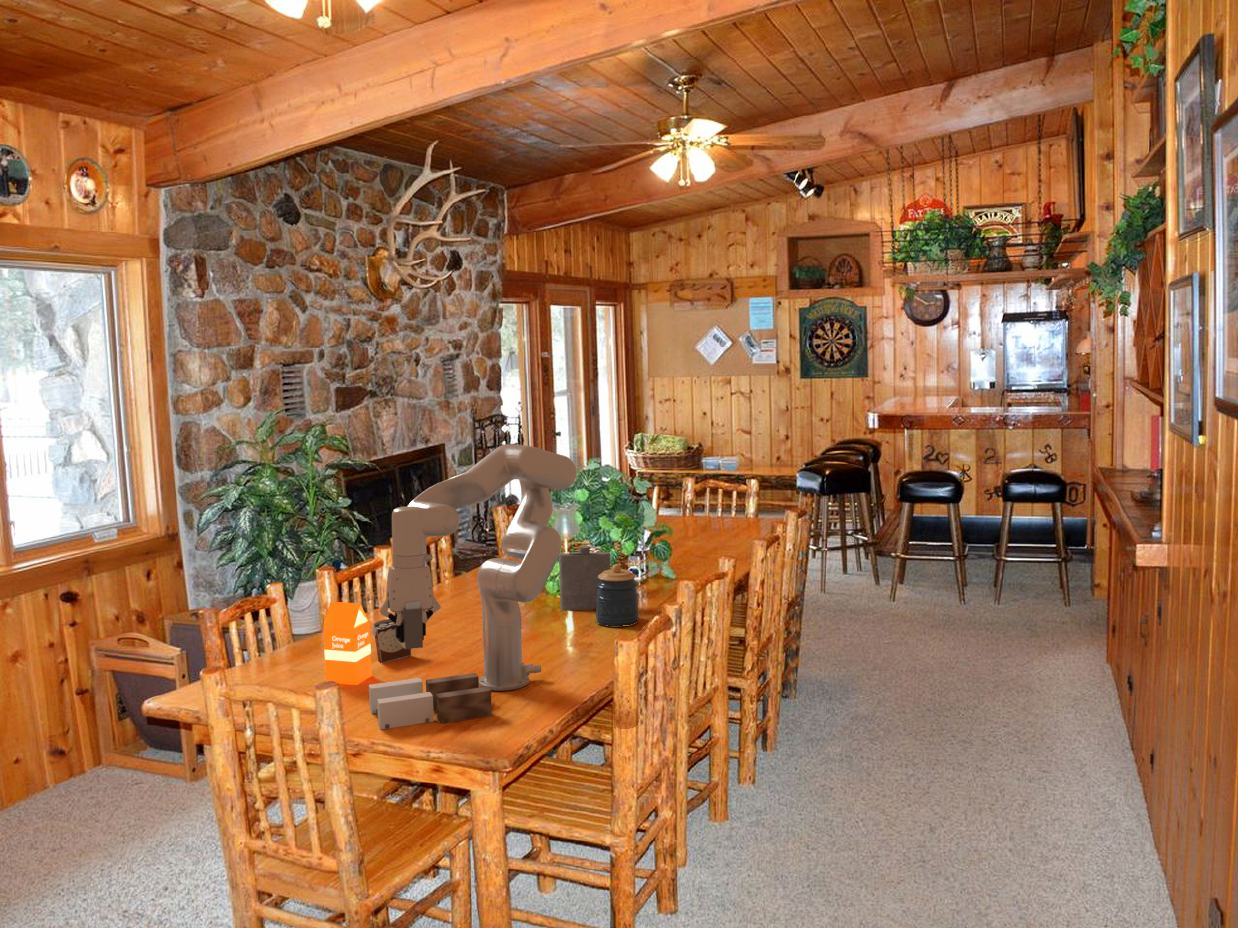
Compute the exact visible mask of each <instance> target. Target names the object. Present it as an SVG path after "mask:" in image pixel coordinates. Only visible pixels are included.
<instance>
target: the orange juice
mask: <svg viewBox="0 0 1238 928" xmlns="http://www.w3.org/2000/svg"><path fill="white" fill-rule="evenodd" d="M370 627H371V626H370V620H369V619H368V617H367V615H366V612H365V611H364V609H363V607H362V605H361V603H360V602H359V603H357V602H342V601H339V602H338V601H329V605H328V609H327V613H326V616H325V620H324V623H323V641H324V643H323V644H324V647H323V648H324V650H323V651H324V662H325V663H324V664H325V681H326V683H327V681H334V682H336V683H335V684H341V685H352V686H353V685H355V686H358V685H360V684H361V683H363V682H365V681H366V680H367V679H369V678H371V677H372V676H373V675H372V674H373V673H372V671H373V670H372V649H371V634H370V633H371V630H370V629H371V628H370Z"/></svg>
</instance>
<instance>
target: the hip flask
mask: <svg viewBox="0 0 1238 928" xmlns="http://www.w3.org/2000/svg"><path fill="white" fill-rule="evenodd" d="M578 550H579V551H575V552H567V553H565V552H564V553H560V555H559V557H558V560H559V561H558V563H559V596H560V597H559V601H560V602H559V603H560V605H559V606H560V607H559V608H560V610H561V611H593V610H592V609H596V596H595V595H596V593H597V587H596V586H595V583H596V582H597V581H599V578H598V575H599V574H601V573H602V572H603V571H605V570H610V569H611V553H610V551H600V552H598V551H597V552H591V545H580V546H578Z"/></svg>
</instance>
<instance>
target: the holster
mask: <svg viewBox="0 0 1238 928" xmlns="http://www.w3.org/2000/svg"><path fill="white" fill-rule="evenodd" d="M479 678H480V677H479V676H478V675H477V673H476V672H473V673H471V672H470V673H465V674H464V673H463V674H459V675H458V674H457V675H451V676H449V675H448V676H442V677H437V678H428V679H425V693H426V692H430V693H431V694H432V695H433V709H434V708H435V709H434V710H435V712H436V719H437V721H438V723H439V724H448V723H453V722H460V721H466V720H473V718H474V719H478V718H485V717H484V716H487V717H492V716H493V715H492V714H493V712H492V710H493V709H492V690H490V689H489V688H488V687H480V686H479ZM491 715H492V716H491Z"/></svg>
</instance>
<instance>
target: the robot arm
mask: <svg viewBox="0 0 1238 928" xmlns="http://www.w3.org/2000/svg"><path fill="white" fill-rule="evenodd" d="M577 474H578V473H577V468H576V465H575V463H574V461H573V460H572V459H571V458H569V457H568V456H565V455H562V454H559V453H556V452H552V451H549V450H545V449H542V448H539V447H536V446H532V445H524V444H512V443H508V444H507V443H506V444H502V445H500V446H498V447H497V448H495V449H493V450H492V451H491V452H490V453H489V454H487V455H486V456H485V457H483V458H482V459H481V460H479V461H478V462H477V463H475V464H474V465H473V466H472V467H471V468H469V469H468V470H466V471H465V472H463V473H461V474H458V475H455V476H452V477H450V478H448V479H445V480H443V481H441V482H437V483H436V484H434V485H432V486H429V487H428V488H427V489H425V490H424V491H422V492H421V493H420V494H418V495H417V496H416V497H415V498H414V499H412V500H411V501H410V502H409V504H407V506H400V507H396V508H394V509H393V511H392V513H391V536H392V537H391V538H392V539H391V540H392V541H391V543H392V544H391V545H392V546H391V547H392V566H390V567H388V571H387V578H386V579H387V580H386V592H385V600H384V603H383V604H382V605H381V607H380V609H379V610H378V612H379V614H380V615H382V616H384V617H385V618H386V619H390V620H391V621H393V622H394V623H395V636H396V639H398V640H399V642H400V643H403V642H404V631H403V625H402V622H401V621H402V616H403V611H404V609H405V608H406V602H415V601H420V608H422V623H423V641H425V639H424V638H425V636H426V635H427V623H428V620H430V618H431V617H433V615H434V614H436V612H437V611H439V610H441V604H440V603H439V601H437V599H436V598H435V596H434V590H433V589H434V588H433V581H432V574H431V570H430V569H431V568H430V566H429V565H428V562H430V561H433V555H432V554H428V552H427V538H429V537H433V538H434V537H440V538H441V537H442V538H443V537H448V536H450V535H453V534H454V533H455V532H456V531H457V530H458V528H459V526H460V523H461V521H460V520H461V516H460V513H459V511H458V510H457V508H459V507H465V506H471V505H476V504H477V505H478V504H481V503H483V502H486V501H488V500H489V499H491V498H492V497H493V496H494V495H495V494H496V493H498V492H499V491H500V490H502V489H503V488H505V486H506V485H508V484H509V483H511V481H514V480H518V481H519V486H520V490H521V500H520V503H519V505H518V508H517V510H516V512H515V514H514V516H513V517H512V519H511V521H510V523H509V524H508V527H507V529H506V531H505V532H504V535H503V537H502V540H501V549H502V552H503V553H504V554H505V555H506V556H508V557H510V558H512V559H516V560H520V561H516V560H512V559H507V558H501V557H500V558H499V557H494V558H493V557H492V558H490V559H487V560H485V561H484V562H483V563H482V564H481V565H480V566H479V568H478V571H477V575H476V583H477V588H478V592H479V596H480V603H481V610H482V611H481V614H482V616H481V617H482V639H483V641H482V643H483V645H482V646H483V668H484V669H483V671H484V673H483V675H481V676H480V677H478V678H479V688H481V687H488V688H489V689H490V690H491V691H495V692H497V691H498V692H500V691H503V692H504V691H511V690H517V689H521V688H523V687H525V686H527V685H528V684H529V683H530V677H529V675H530V674H537V673H538V674H539V673H541V672H542V665H541V664H535V665H534V664H533V663H528V664H525V663H524V662H523V645H522V644H523V642H522V639H523V636H522V613H521V607H520V604H519V603H531V602H532V601H534V600H535V599H537V597H538V596H539V595H540V594H541V593H542V591H543V589H544V587H545V585H546V583H547V581H548V579H549V578H550V575H551V574H552V572H553V569H554V567H555V565H556V564H557V562H558V560H559V555H560V554H561V550H562V538H561V535H560V533H559V532H558V531H557V529H556V528H554V527H553V526H550V525H549V522H550V520H551V518H552V514H553V509H554V507H553V501H552V497H551V494H550V493H551V492H550V491H549V490H551V489H552V490H557V491H559V490H560V491H563V490H567V489H569V488H570V487H572V486H573V484H574V482H575V481H576V478H577ZM389 610H390V611H389ZM392 612H393V613H392Z"/></svg>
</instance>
